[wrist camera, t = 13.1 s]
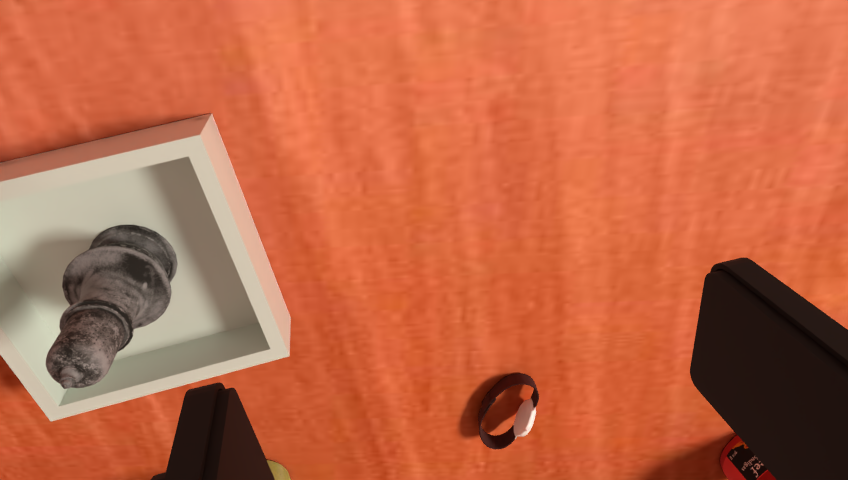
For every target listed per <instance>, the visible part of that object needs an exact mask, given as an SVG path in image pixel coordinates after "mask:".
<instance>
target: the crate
mask: <svg viewBox="0 0 848 480" xmlns="http://www.w3.org/2000/svg"><path fill="white" fill-rule="evenodd" d="M118 225H138V226H143V227H146V228H149V229H151V230H153V231H156V232H157V233H158V234H160V235H161V236H163V237H164V238H165V239H166V240H167V241H168V242H169V243H170V244H171V246H172V247H173V249H174V251H175V253H176V257H177V263H178V265H177V270H176V274H175V276H174V278H173V279H172V281H171V282H170V285H171V291H172V293H171V299H170V304H169V305H168V307H167V309H166V311H165V313H164V314H163V315H161V316H160V317H159V318H158V319H157V320H156V321H154V322H152V323H150V324H149V325H147V326H144V327H140V328H136V329H134V333H133V337H132V339H131V341H130V343H129V344H128V345H127V346H126V347H125V348H124V349H122V350H120V351H119V352H117V354H116V356H115V358H114V360H113V363H112V365H111V367H110V369H109V371H108V373H107V374H106V375H105V377H104V378H103V379H102V380H101V381H100V382H98V383H96V384H94V385H91V386H88V387H84V388H69V389H63V387H62V386H61V385H60V384H59V383H57V382H56V381H55V380H54V379H53V378H52V377H51V375H50V374H49V373H48V371H47V368H46V357H47V354H48V352H49V349H50V348H51V346H52V345H53V343H54V342H55V340H56V338H57V337H58V335H59V334H60V332H61V331H60V328H59V325H60V318H61V316H62V314H63V312H64V311H65V310H66V309H67V308H68V307H69V306H70V305H69V303H68V301H67V300H66V298H65V295H64V292H63V288H62V282H63V275H64V272H65V270H66V268H67V266H68V264H69V263H70V262H71V261H72V260H73V259H74V258H75V257H76V256H78V255H79V254H81V253H83V252H85V251H87V250H89V248H90V246H91V243H92V241H93V240H94V239H95V238H96V237H97V236H98V235H99V234H100V233H101V232H103V231H104V230H106V229H108V228H110V227H114V226H118ZM290 324H291V317H290V315H289V312H288V309H287V307H286V304H285V302H284V299H283V296H282V294H281V291H280V289H279V286H278V283H277V281H276V278H275V276H274V273H273V270H272V268H271V265H270V263H269V260H268V258H267V255H266V252H265V250H264V247H263V245H262V242H261V239H260V237H259V234H258V232H257V229H256V226H255V224H254V221H253V219H252V216H251V213H250V211H249V208H248V206H247V203H246V200H245V198H244V195H243V193H242V190H241V187H240V185H239V182H238V180H237V177H236V174H235V172H234V169H233V167H232V164H231V161H230V159H229V156H228V154H227V151H226V148H225V146H224V143H223V141H222V138H221V136H220V133H219V130H218V128H217V125H216V123H215V120H214V117H213V115H212V113H211V114H206V115H202V116H198V117H193V118H189V119H185V120H181V121H176V122H172V123H168V124H163V125H159V126H155V127H151V128H146V129H142V130H138V131H133V132H129V133H125V134H121V135H116V136H112V137H108V138H103V139H99V140H95V141H91V142H86V143H82V144H78V145H73V146H69V147H65V148H61V149H56V150H52V151H48V152H43V153H39V154H35V155H31V156H26V157H22V158H18V159H13V160H9V161H5V162H1V163H0V355H1V356H2V357H3V359H4V360H5V361H6V363H7V364H8V365H9V367H10V368H11V369H12V371H13V372H14V373H15V375H16V376H17V377H18V379H19V380H20V381H21V383H22V384H23V385H24V387H25V388H26V389H27V391H28V392H29V393H30V395H31V396H32V397H33V399H34V400H35V401H36V403H37V404H38V405H39V406H40V408H41V409H42V410H43V412H44V413H45V414H46V416H47V417H48V418H49V420H50V421H54V420H58V419H62V418H65V417H69V416H72V415H76V414H80V413H83V412H87V411H91V410H94V409H98V408H102V407H105V406H109V405H113V404H116V403H120V402H124V401H127V400H131V399H135V398H138V397H142V396H146V395H149V394H153V393H157V392H160V391H164V390H167V389H171V388H175V387H178V386H182V385H186V384H189V383H193V382H197V381H200V380H204V379H208V378H211V377H215V376H219V375H222V374H226V373H230V372H233V371H237V370H241V369H244V368H248V367H252V366H255V365H259V364H262V363H266V362H270V361H273V360H277V359H281V358H284V357H288V356H290Z"/></svg>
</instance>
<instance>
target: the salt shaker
mask: <svg viewBox="0 0 848 480" xmlns="http://www.w3.org/2000/svg"><path fill="white" fill-rule="evenodd" d="M177 265H178V263H177V257H176V253H175V251H174V249H173V247H172V246H171V244H170V243H169V242H168V241H167V240H166V239H165V238H164V237H163V236H161V235H160V234H158V233H157V232H156V231H153V230H151V229H149V228H146V227H143V226H138V225H118V226H114V227H110V228H108V229H106V230H104V231H103V232H101V233H100V234H99V235H98V236H97V237H96V238H95V239H94V240H93V241H92V243H91V246H90V248H89V250H87V251H85V252H83V253H81V254H79V255H78V256H76V257H75V258H74V259H73V260H72V261H71V262H70V263H69V264H68V266H67V268H66V270H65V272H64V275H63V282H62V288H63V292H64V295H65V298H66V300H67V301H68V303H69V305H70V306H69V307H68V308H67V309H66V310H65V311H64V312H63V314H62V316H61V318H60V325H59V328H60V331H61V332H60V334H59V335H58V337H57V338H56V340H55V342H54V343H53V345H52V346H51V348H50V349H49V352H48V354H47V357H46V368H47V371H48V373H49V374H50V375H51V377H52V378H53V379H54V380H55V381H56V382H57V383H59V384H60V385H61V386H62V387H63V389H69V388H84V387H88V386H91V385H94V384H96V383H98V382H100V381H101V380H102V379H103V378H104V377H105V375H106V374H107V373H108V371H109V369H110V367H111V365H112V363H113V360H114V358H115V356H116V354H117V352H119V351H120V350H122V349H124V348H125V347H126V346H127V345H128V344H129V343H130V341H131V339H132V337H133V333H134V329H136V328H140V327H144V326H147V325H149V324H150V323H152V322H154V321H156V320H157V319H158V318H159V317H160V316H161V315H163V314H164V313H165V311H166V309H167V307H168V305H169V304H170V299H171V293H172V291H171V285H170V282H171V281H172V279H173V278H174V276H175V274H176V270H177Z"/></svg>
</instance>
